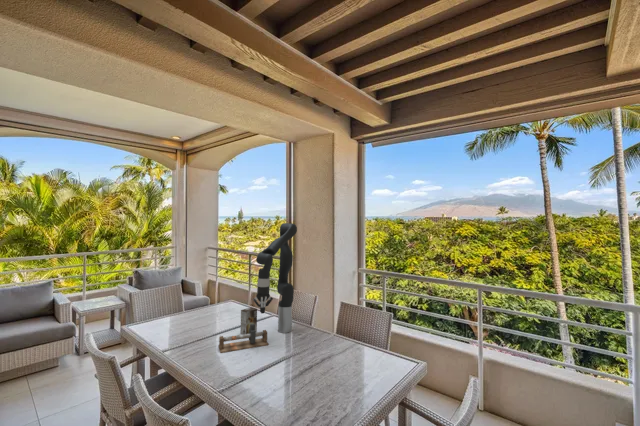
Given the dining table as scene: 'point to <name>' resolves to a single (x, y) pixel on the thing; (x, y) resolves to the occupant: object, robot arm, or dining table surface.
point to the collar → (252, 333)
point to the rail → (242, 342)
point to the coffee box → (248, 320)
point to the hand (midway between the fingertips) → (262, 313)
